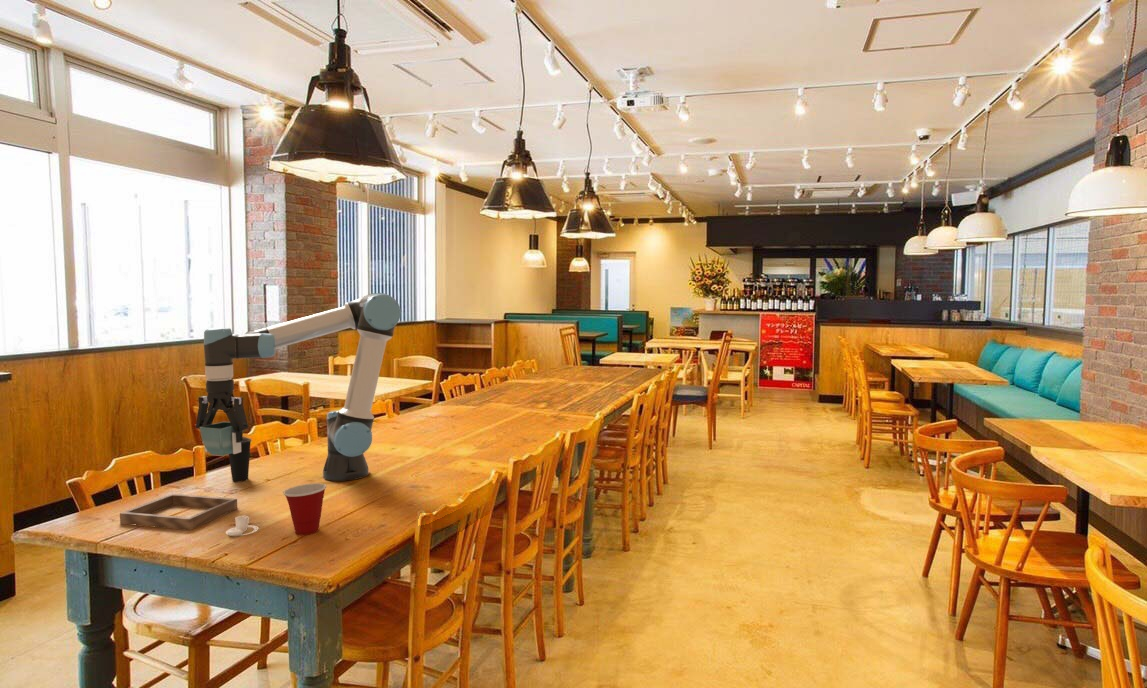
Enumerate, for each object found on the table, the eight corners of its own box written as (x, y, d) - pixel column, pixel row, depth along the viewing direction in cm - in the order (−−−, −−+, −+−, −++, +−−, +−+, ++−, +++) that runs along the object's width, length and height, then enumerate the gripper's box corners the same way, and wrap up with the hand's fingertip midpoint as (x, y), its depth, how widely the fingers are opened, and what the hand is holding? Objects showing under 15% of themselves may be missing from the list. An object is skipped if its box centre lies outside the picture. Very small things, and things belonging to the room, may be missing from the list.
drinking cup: (242, 483, 225) (240, 424, 224) (222, 482, 227) (220, 423, 225) (257, 477, 233) (255, 420, 231) (238, 476, 234) (236, 419, 233)
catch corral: (237, 508, 199) (237, 498, 199) (189, 530, 182) (189, 519, 181) (172, 503, 204) (172, 493, 204) (120, 523, 186) (119, 513, 186)
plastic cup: (296, 523, 187) (295, 481, 186) (334, 524, 186) (333, 482, 185) (276, 537, 176) (274, 492, 175) (315, 539, 175) (314, 494, 174)
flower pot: (200, 456, 204) (198, 426, 203) (224, 449, 212) (223, 421, 211) (221, 458, 200) (219, 428, 199) (245, 451, 208) (244, 423, 208)
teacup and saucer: (233, 540, 175) (233, 525, 175) (216, 534, 179) (216, 519, 179) (264, 530, 183) (264, 516, 182) (247, 525, 187) (247, 510, 187)
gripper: (259, 378, 205) (262, 450, 207) (198, 376, 210) (201, 447, 212) (242, 381, 198) (246, 456, 200) (179, 379, 203) (182, 453, 205)
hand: (223, 452), depth 206 cm, fingers closed on flower pot, 9 cm apart
